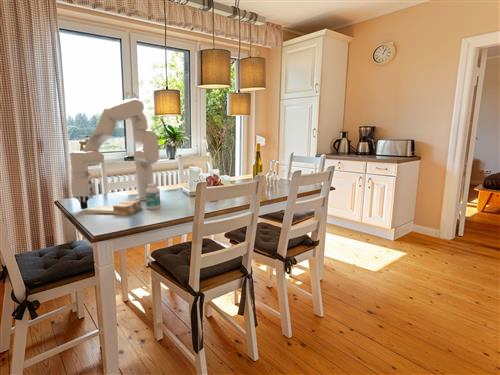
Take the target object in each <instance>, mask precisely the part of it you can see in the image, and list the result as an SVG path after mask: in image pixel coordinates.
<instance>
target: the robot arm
mask: <svg viewBox="0 0 500 375" xmlns="http://www.w3.org/2000/svg"><path fill="white" fill-rule="evenodd" d="M144 108H145V106H144V103H143V102H142V101H141V100H140V99H138V98H130V99H124V100H123V101H121V102H120V103H119V104H115V105H109V106H108V105H107V106H106V107H105V108H104V109H103V111H102V113H101V115H100V119H99V121H98V123H97V126H96V127H95V129H94V131H93V132H92V134H91V135H90V137H89V138H88V140H87V141H86V143H85V146H84V148H83V150H82V151H81V150H79V151H78V150H77V151H71V152H70V153H69V154H70V155H69V157H70V165H71V174H72V176H71V177H72V178H71V180H70V181H71V185H70V186H71V187H70V190H71V194H72V198H73V199H76V200H77V201H78V202H79V203H80V210H87V209H89V208H88V201H89V200H90V199H93V198H94V194H95V189H94V183H93V181H92V178H91V172H89V165H94V166H95V165H100V164H102V163H103V162H104V160H105V154H104V153H102V152H101V151H100V148H101V147H102V145H104V143H105V142H107V141H108V140H110V139H111V138H112V136H113V134H114V131H115V130H116V127H117V124H118V122H122V121H125V120H128V119H130V122H131V126H132V134H133V141H134V143H135V144H136V145H139V146H142V147H138V148H136V150H134V153H133V159H134V164H135V171H136V183H137V185H136V186H137V196H136V197H135V200H141V201H144V202H146V192H145V190H146V189H147V188H148V184H151V183H154V171H153V165H155V164H156V163H158V162H159V159H160V150H159V140H158V136H157V134H156V132H154V130H151V129H149V126H148V121H147V117H146V115H145V112H143V111H144Z"/></svg>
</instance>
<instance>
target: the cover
mask: <svg viewBox="0 0 500 375" xmlns="http://www.w3.org/2000/svg"><path fill="white" fill-rule="evenodd" d="M113 206H114V205H94V206H91V207H89V208H86V209H84V213H85V212H86V211H100V212H114V209H113Z"/></svg>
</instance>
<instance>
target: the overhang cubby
mask: <svg viewBox="0 0 500 375" xmlns="http://www.w3.org/2000/svg"><path fill="white" fill-rule="evenodd" d="M112 206H113V209H114V212H100V211H86V212H85V211H84V215H111V216H113V215H114V216H115V215H117V216H119V215H121V216H123V215H124V216H130V215H131V214H134V213H135V212H137V211H139V210H140V209H142V202H141V200H136V199H125V200H123V201H121V202H119V203H117V204H115V205H112Z"/></svg>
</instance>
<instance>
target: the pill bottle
mask: <svg viewBox="0 0 500 375" xmlns="http://www.w3.org/2000/svg"><path fill="white" fill-rule="evenodd" d="M157 186H158V185H157V183H156V182H155V183H154V182H153V183H151V184H148V188H147V189H146V190H145V192H146V200H145V202H146V203H145V207H146V209H147V210H158V209H160V208H161V192H160V191H161V190H160V188H158V187H157Z"/></svg>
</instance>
